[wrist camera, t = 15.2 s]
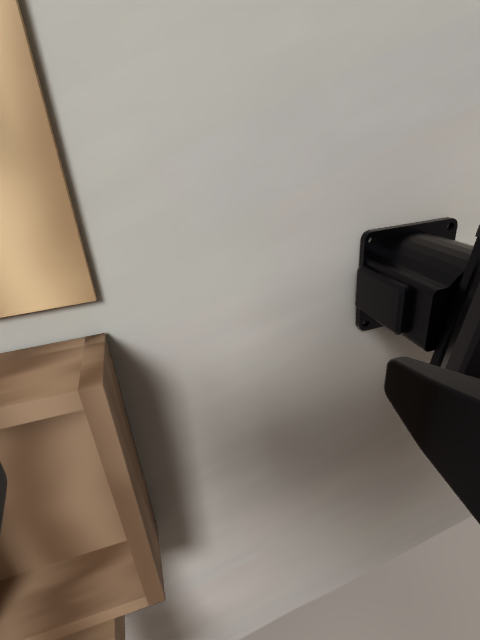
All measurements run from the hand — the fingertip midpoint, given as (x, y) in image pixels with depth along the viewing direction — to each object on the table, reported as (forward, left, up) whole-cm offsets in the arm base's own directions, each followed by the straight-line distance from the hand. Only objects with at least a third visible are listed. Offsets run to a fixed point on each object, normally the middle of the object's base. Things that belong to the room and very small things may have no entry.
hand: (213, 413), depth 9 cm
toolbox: (+9, +13, -13) cm, 20 cm away
